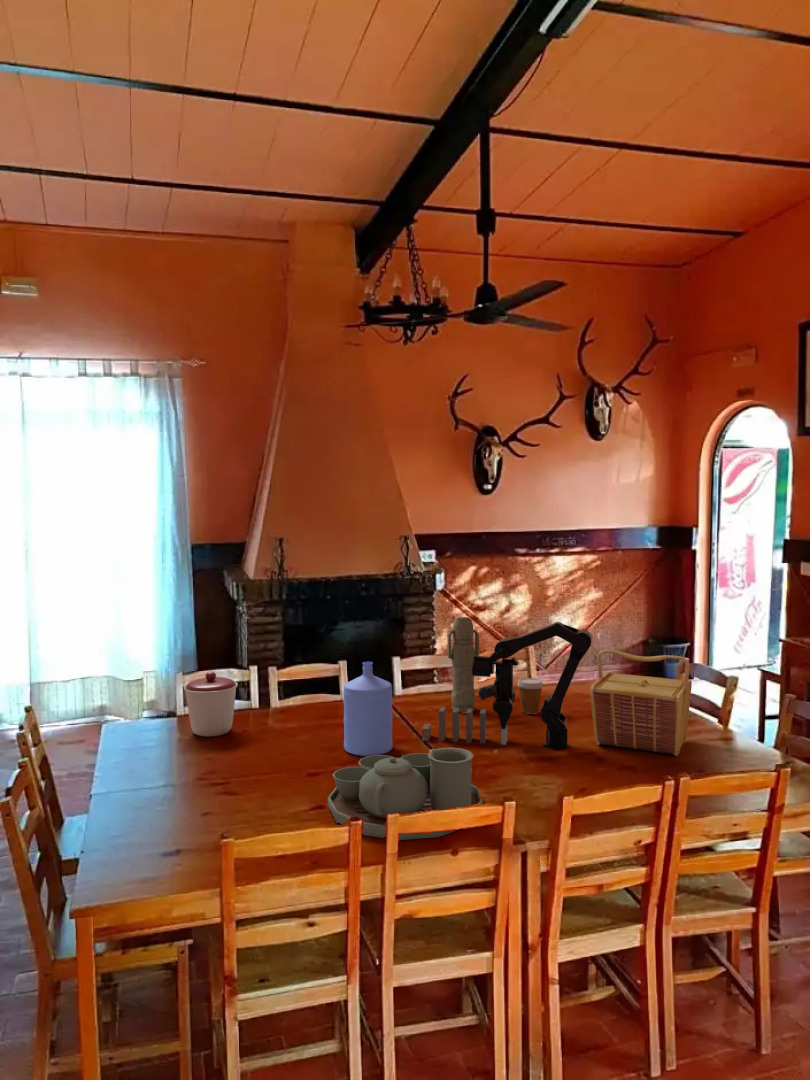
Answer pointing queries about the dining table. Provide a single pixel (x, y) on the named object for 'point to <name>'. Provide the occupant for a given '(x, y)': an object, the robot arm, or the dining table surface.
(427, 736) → the end block
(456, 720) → the domino
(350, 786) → the tea set
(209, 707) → the canister
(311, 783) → the dining table surface
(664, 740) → the picnic basket
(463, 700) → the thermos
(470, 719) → the domino
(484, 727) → the domino
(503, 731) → the teal domino
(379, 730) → the water jug
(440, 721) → the domino
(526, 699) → the disposable coffee cup
